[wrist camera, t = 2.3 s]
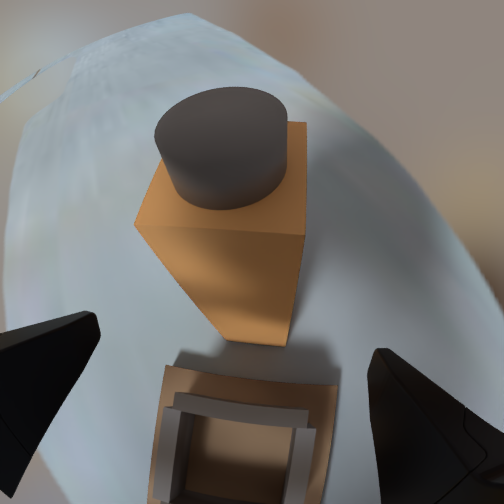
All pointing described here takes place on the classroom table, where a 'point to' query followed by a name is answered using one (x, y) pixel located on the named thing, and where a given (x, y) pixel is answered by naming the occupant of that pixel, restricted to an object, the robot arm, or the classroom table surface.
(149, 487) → the keeper
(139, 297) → the classroom table surface
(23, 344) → the robot arm
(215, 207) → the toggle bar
